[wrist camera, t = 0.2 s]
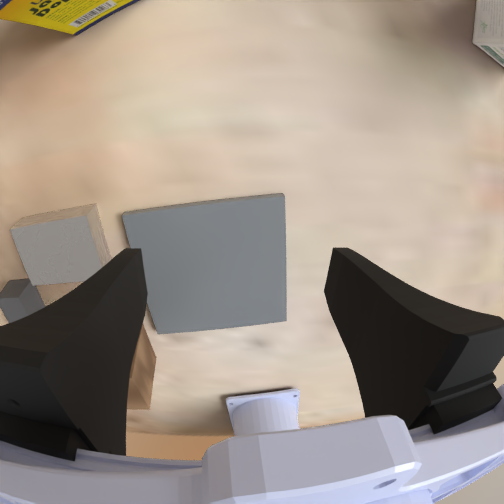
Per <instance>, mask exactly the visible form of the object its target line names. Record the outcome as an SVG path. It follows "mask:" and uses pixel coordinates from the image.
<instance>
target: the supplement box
mask: <svg viewBox="0 0 504 504" xmlns="http://www.w3.org/2000/svg"><path fill="white" fill-rule="evenodd" d="M137 1H139V0H0V19H3V20H9V21H15V22H20V23H25V24H30V25H35V26H40V27H44V28H48V29H53V30H57V31H61V32H65V33H69V34H73V35H78V34H80V33H81V32H83V31H84V30H86V29H88V28H89V27H91V26H93V25H95V24H96V23H98V22H99V21H101V20H103V19H104V18H106V17H108V16H110V15H112V14H113V13H115V12H117V11H119V10H121V9H123V8H125V7H127V6H129V5H131V4H133V3H135V2H137Z"/></svg>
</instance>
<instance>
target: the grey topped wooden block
mask: <svg viewBox="0 0 504 504" xmlns="http://www.w3.org/2000/svg"><path fill="white" fill-rule="evenodd" d="M10 231H11V234H12V237H13V240H14V242H15V245H16V248H17V250H18V253H19V255H20V258H21V260H22V263H23V265H24V268H25V270H26V272H27V275H28V277H29V279H30V281H31V284H32V286H35V285H47V284H59V283H71V282H82V281H86V280H87V279H88V278H90V277H91V276H92V275H94V274H95V273H96V272H97V271H98V270H100V269H101V268H102V267H103V266H104V265H106V264H107V263H108V262H109V261H110V260H112V259H111V256H110V252H109V249H108V246H107V242H106V239H105V235H104V231H103V228H102V224H101V220H100V216H99V213H98V209H97V205H96V204H91V205H85V206H79V207H74V208H68V209H63V210H58V211H52V212H47V213H42V214H37V215H32V216H28V217H23V218H21V219H20V220H19V221H18V222H17V223H16V224H15V225H14V226H13V227H12V228H11V229H10Z"/></svg>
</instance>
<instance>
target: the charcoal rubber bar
mask: <svg viewBox="0 0 504 504" xmlns="http://www.w3.org/2000/svg"><path fill="white" fill-rule="evenodd" d="M44 307H45V305H44V303H43V301H42V299H41V296H40V294H39V292H38V290H37V288H36V286H32V284H31V281H30V279H20V280H10V281H9V282H8V283H7V284H6V286H5V287H4V288H3V290H2V291H1V292H0V308H1V309H2V311H3V313H4V315H5V317H6V318H7V320H8V322H9V323H12V322H14V321H16V320H19V319H21V318H24V317H26V316H28V315H30V314H33V313H35V312H36V311H38V310H40V309H42V308H44Z"/></svg>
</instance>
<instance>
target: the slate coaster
mask: <svg viewBox="0 0 504 504" xmlns="http://www.w3.org/2000/svg"><path fill="white" fill-rule="evenodd" d="M122 218H123V222H124V226H125V230H126V233H127V237H128V241H129V245H130V248H141V251H142V258H143V265H144V272H145V279H146V285H147V292H148V296H147V304H148V307H149V310H150V313H151V316H152V319H153V322H154V325H155V328H156V331H157V333H158V334H168V333H181V332H193V331H204V330H215V329H224V328H234V327H243V326H251V325H260V324H268V323H275V322H283V321H286V223H285V196H284V194H283V193H281V194H270V195H259V196H249V197H239V198H230V199H221V200H212V201H203V202H195V203H187V204H179V205H171V206H164V207H157V208H150V209H143V210H136V211H129V212H124V213H123V215H122Z"/></svg>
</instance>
